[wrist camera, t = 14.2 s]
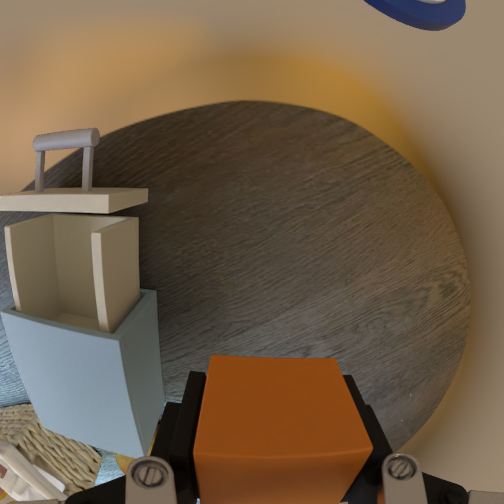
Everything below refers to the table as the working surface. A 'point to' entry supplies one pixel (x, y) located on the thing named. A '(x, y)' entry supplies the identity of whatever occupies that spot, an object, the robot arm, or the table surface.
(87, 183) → the beige drawer
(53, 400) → the blue drawer cabinet
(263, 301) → the table surface
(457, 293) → the table surface
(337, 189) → the table surface
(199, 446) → the orange wooden block
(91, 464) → the basket
